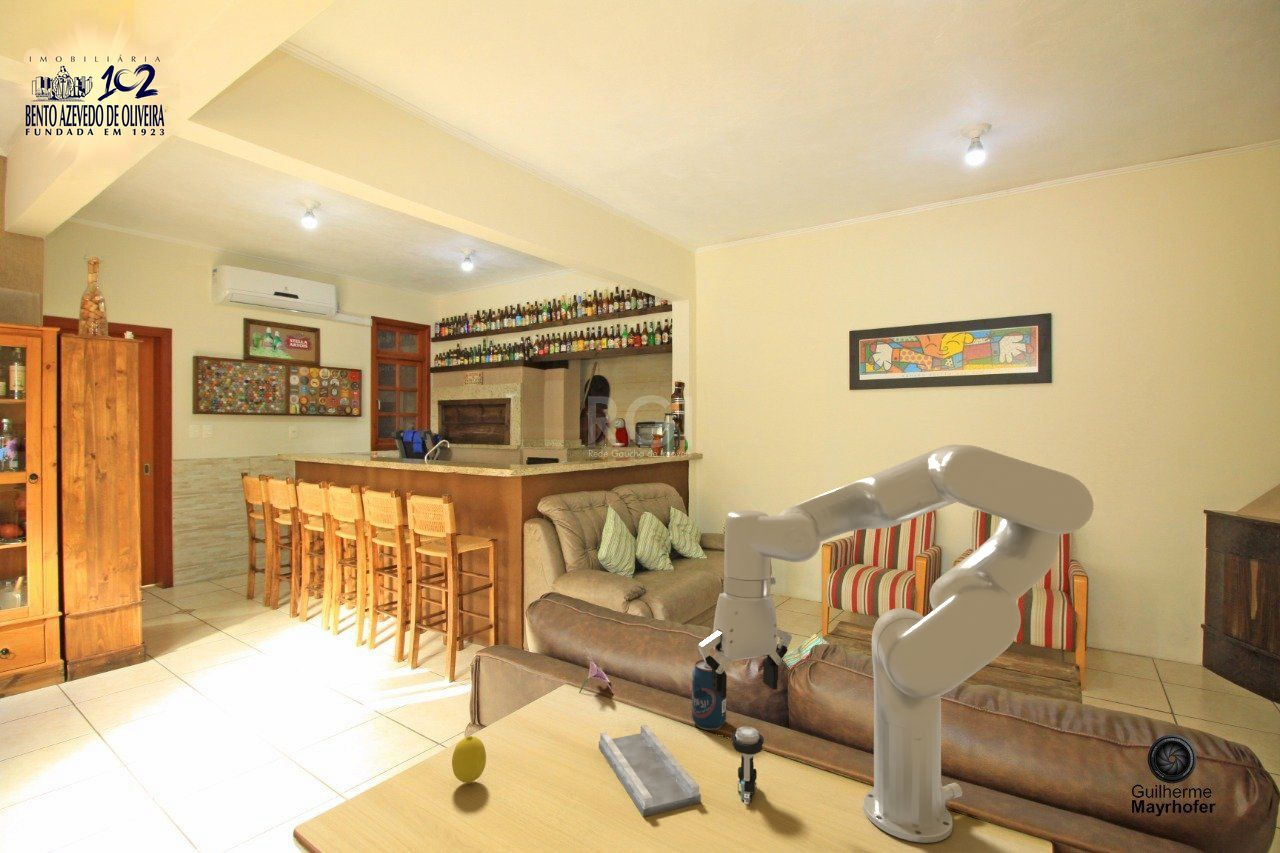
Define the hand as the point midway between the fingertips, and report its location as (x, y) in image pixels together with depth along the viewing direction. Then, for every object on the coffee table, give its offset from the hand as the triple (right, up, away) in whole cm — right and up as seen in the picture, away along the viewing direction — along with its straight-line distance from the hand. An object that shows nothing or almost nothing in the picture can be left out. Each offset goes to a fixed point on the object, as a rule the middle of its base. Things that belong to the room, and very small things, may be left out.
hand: (745, 690), depth 99 cm
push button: (0, -17, 0) cm, 17 cm away
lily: (-27, -18, +40) cm, 51 cm away
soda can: (-3, -18, +24) cm, 30 cm away
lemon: (-46, -17, +3) cm, 49 cm away
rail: (-16, -17, +6) cm, 24 cm away
